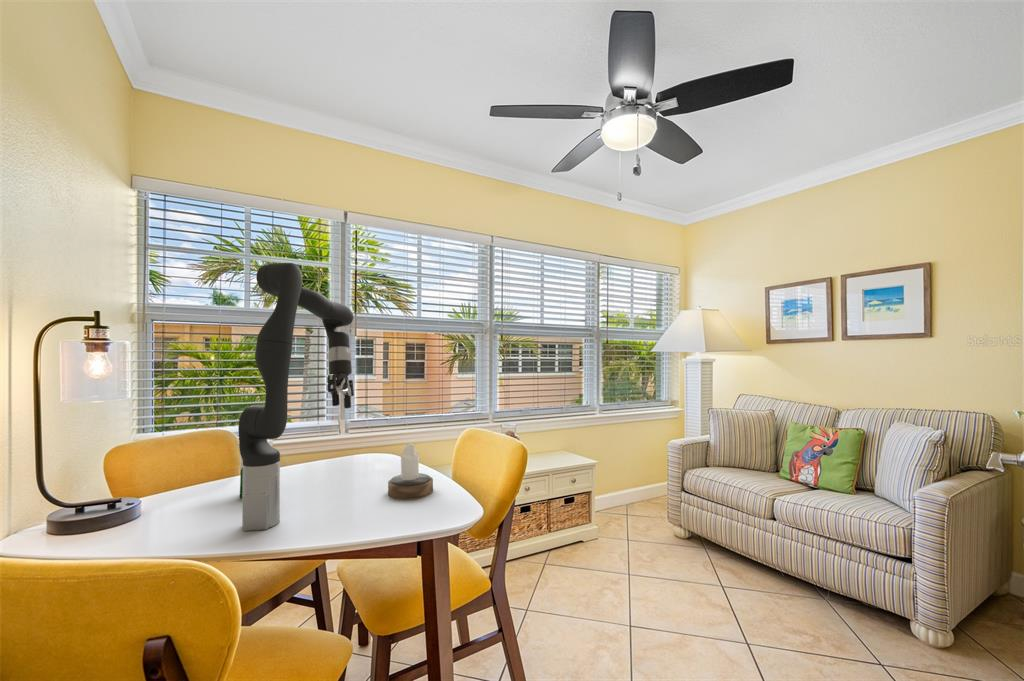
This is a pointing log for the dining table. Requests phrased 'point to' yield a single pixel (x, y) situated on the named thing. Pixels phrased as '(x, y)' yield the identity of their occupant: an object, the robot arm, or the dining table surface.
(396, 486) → the podium
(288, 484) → the dining table surface
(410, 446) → the white tall rounded piece
